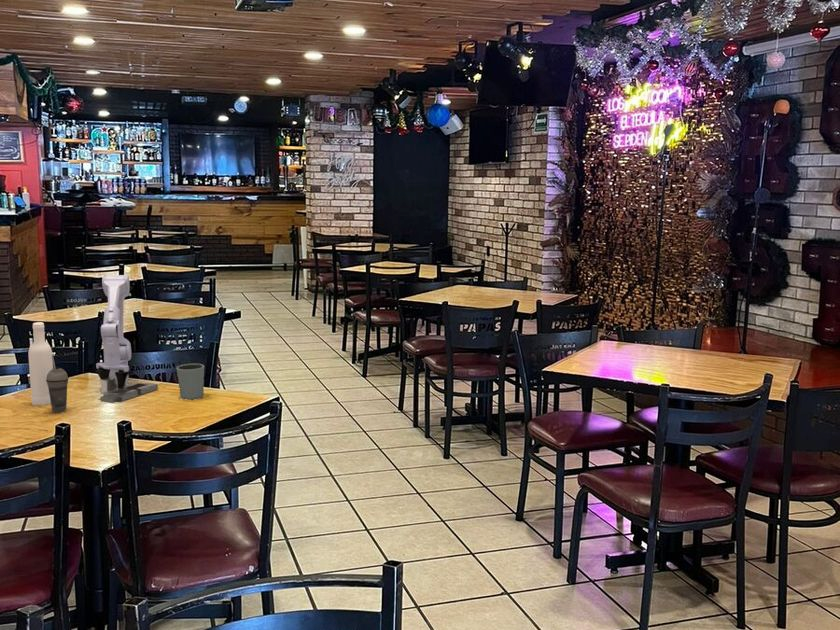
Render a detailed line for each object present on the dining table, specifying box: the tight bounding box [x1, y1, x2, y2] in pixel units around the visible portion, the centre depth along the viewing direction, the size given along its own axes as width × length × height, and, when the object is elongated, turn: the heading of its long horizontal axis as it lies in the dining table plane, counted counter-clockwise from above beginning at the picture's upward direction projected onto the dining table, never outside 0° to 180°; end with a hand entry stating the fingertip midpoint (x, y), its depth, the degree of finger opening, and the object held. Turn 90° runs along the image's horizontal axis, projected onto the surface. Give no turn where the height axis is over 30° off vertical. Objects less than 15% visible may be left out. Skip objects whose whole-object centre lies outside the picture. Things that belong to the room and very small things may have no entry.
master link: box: [99, 376, 127, 395], centre depth 310 cm, size 3×10×6 cm, turn 157°
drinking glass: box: [175, 363, 205, 401], centre depth 303 cm, size 10×10×12 cm
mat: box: [97, 388, 160, 403], centre depth 306 cm, size 11×21×1 cm, turn 157°
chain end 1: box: [99, 388, 138, 404], centre depth 299 cm, size 9×11×2 cm
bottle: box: [27, 321, 54, 406], centre depth 291 cm, size 8×8×30 cm
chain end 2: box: [123, 381, 159, 396], centre depth 311 cm, size 9×11×2 cm
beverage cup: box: [46, 355, 69, 414], centre depth 282 cm, size 7×7×20 cm
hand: (113, 387), depth 310 cm, fingers open, 7 cm apart
